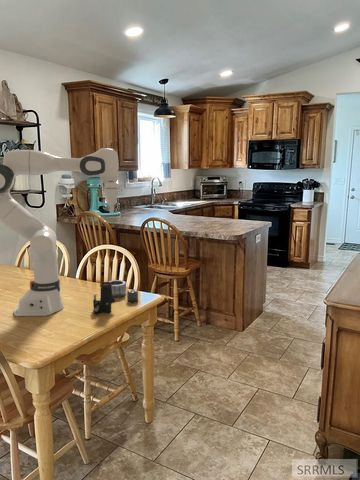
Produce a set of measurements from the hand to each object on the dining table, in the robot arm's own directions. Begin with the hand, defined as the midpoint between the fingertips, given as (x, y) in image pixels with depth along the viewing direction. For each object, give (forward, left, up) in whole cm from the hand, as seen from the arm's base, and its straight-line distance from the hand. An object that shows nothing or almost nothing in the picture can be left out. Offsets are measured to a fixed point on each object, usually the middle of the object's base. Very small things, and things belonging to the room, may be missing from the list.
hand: (110, 212), depth 186 cm
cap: (+10, 0, -46) cm, 47 cm away
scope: (-5, -11, -46) cm, 48 cm away
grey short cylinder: (+3, +12, -46) cm, 48 cm away
